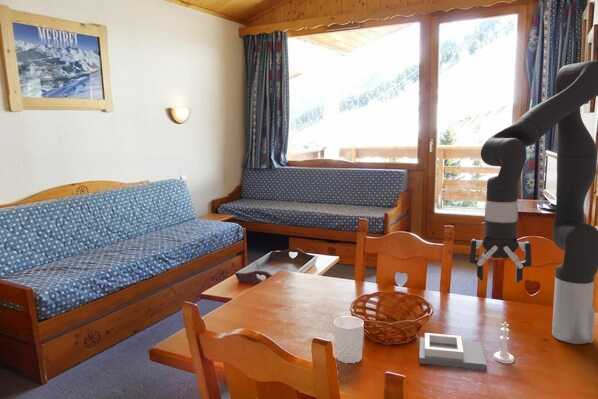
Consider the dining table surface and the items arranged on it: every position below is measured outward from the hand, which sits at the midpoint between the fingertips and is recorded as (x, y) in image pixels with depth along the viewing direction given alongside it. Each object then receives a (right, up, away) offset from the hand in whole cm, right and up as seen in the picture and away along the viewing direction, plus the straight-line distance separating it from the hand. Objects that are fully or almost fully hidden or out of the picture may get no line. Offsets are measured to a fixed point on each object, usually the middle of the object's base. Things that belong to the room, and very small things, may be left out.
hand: (498, 280), depth 116 cm
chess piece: (+2, -21, +1) cm, 21 cm away
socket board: (-11, -21, +4) cm, 24 cm away
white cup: (-38, -21, +4) cm, 44 cm away
